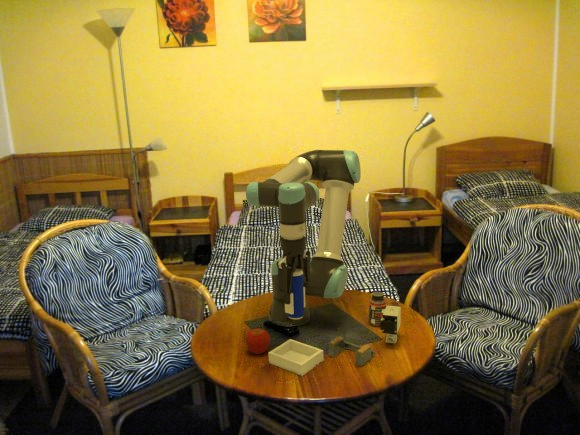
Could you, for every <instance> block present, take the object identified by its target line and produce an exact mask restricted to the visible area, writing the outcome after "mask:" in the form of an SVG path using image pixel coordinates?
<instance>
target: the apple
mask: <svg viewBox="0 0 580 435" xmlns="http://www.w3.org/2000/svg"><path fill="white" fill-rule="evenodd" d="M245 343H246V347H247V349H248V350H249V351H250V352H251V353H252V354H255V355H261V354H263V353H265V352H267V350H268V348H269V346H270V343H271V336H270V334H269V332H268V331H266V330H265V329H263V328H253V329H250V330H249V331H247V333H246V336H245Z"/></svg>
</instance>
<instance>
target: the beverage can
mask: <svg viewBox="0 0 580 435" xmlns="http://www.w3.org/2000/svg"><path fill="white" fill-rule="evenodd" d="M287 290H288V289H287ZM291 293H293V306H294V314H289V313H287V316H288V317H289V318H290V319H295V320H296V319H301V318H302V317H303V316H304V288H303V271H302V269H297V268H296V270H295V271H294V273H293V282H292V290H291Z"/></svg>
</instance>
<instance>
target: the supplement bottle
mask: <svg viewBox="0 0 580 435" xmlns="http://www.w3.org/2000/svg"><path fill="white" fill-rule="evenodd" d="M368 302H369V303H368V323H369V325H371V326H373V327H380V324H381V319H382V316H383V313H382V310H383V309H386V306H387V300H386V299H385V298H384V293H383V292H381V291H373V292H372V294H371V298H370V299H369V300H368Z"/></svg>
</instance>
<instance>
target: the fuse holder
mask: <svg viewBox="0 0 580 435" xmlns="http://www.w3.org/2000/svg"><path fill="white" fill-rule="evenodd" d="M345 348H346V350H348V349H349V350H348V351H351V350H352V352H355V366H357V367H359V366H360V368H362V367H363V366H364V365H366V364H367V363H368V362H370V360H372V358H375V351H376V350H373V349H372V346H370V345H368V344H364V345H363V346H361V345H359V344H355V343H352V342H349V341H346V340H345V338H343V337H342V336H340V335H339V336H336V337H335V338H333V339H332V340H331V341H329V343H328V357H331V356H332V357H331V358H335V357H337V356H338V355H339V354H341V353H342V352H343V351H345ZM341 351H342V352H341ZM340 352H341V353H340ZM337 354H338V355H337ZM336 355H337V356H336Z"/></svg>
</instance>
